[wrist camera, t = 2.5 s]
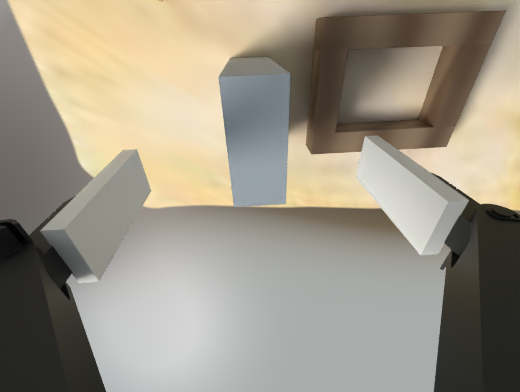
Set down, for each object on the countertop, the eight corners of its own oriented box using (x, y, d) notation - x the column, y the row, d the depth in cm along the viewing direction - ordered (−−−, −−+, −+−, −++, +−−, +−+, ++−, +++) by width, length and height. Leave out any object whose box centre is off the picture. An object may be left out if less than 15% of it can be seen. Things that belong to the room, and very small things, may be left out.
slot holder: (478, 13, 24) (505, 10, 21) (430, 137, 31) (446, 146, 28) (316, 19, 23) (324, 17, 21) (305, 144, 30) (311, 154, 28)
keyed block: (268, 56, 25) (290, 73, 13) (269, 139, 30) (285, 204, 18) (230, 58, 25) (218, 77, 13) (237, 140, 30) (233, 207, 18)
